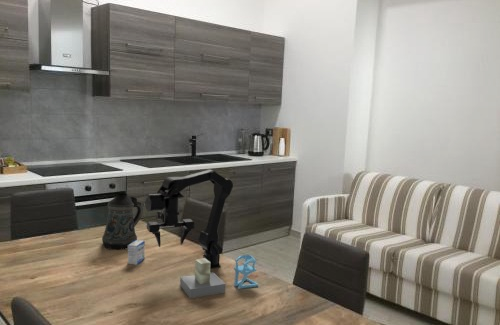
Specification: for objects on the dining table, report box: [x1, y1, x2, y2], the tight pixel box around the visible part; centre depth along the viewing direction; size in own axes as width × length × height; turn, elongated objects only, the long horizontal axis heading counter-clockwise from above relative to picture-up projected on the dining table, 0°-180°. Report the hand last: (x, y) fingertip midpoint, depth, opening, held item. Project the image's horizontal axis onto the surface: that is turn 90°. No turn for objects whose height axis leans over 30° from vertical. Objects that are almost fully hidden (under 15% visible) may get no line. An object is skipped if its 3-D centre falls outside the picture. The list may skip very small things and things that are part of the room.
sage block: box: [194, 257, 211, 284], centre depth 169 cm, size 4×5×8 cm
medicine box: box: [127, 239, 146, 266], centre depth 195 cm, size 8×4×9 cm, turn 168°
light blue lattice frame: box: [233, 254, 259, 290], centre depth 175 cm, size 8×8×12 cm
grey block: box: [179, 271, 226, 299], centre depth 170 cm, size 14×12×4 cm
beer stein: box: [101, 193, 144, 251], centre depth 216 cm, size 16×19×25 cm
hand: (170, 245), depth 181 cm, fingers open, 9 cm apart
